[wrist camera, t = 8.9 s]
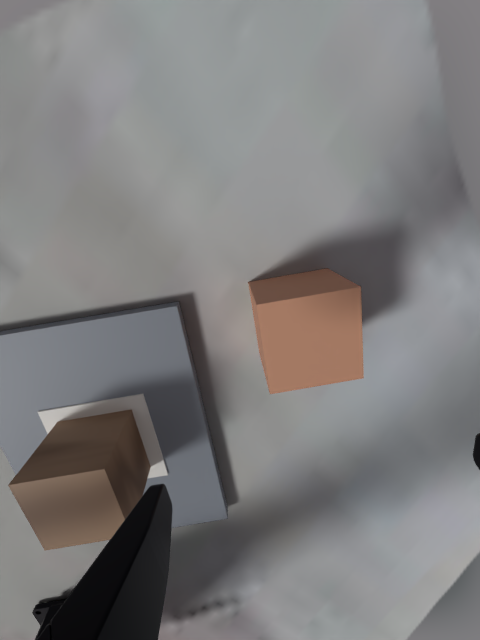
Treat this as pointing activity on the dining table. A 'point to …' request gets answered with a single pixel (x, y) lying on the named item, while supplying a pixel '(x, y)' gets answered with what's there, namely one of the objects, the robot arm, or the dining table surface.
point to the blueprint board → (116, 396)
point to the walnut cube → (83, 479)
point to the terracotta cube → (308, 329)
